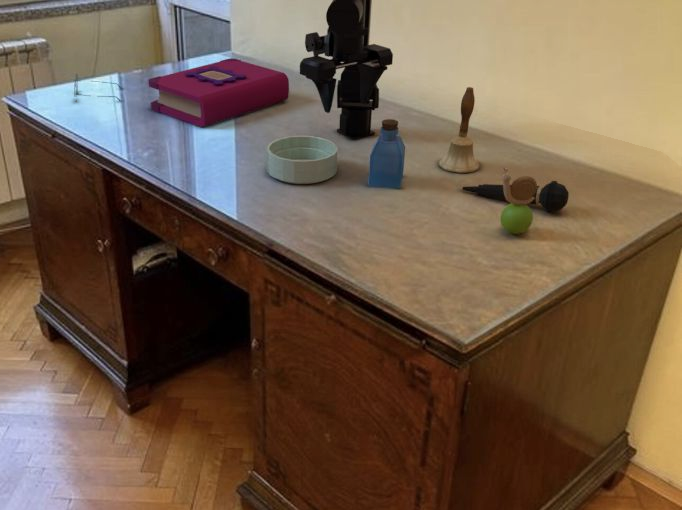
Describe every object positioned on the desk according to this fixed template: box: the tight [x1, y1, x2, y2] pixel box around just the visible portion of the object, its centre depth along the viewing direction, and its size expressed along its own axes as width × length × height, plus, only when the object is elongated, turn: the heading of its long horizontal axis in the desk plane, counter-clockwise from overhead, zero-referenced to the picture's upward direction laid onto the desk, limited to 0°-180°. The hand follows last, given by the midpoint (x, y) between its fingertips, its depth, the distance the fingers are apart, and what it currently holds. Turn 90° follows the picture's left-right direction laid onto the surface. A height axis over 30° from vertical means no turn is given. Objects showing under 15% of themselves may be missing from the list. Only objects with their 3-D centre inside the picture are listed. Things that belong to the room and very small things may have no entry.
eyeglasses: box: [73, 72, 122, 102], centre depth 196 cm, size 11×13×5 cm
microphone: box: [461, 180, 570, 214], centre depth 145 cm, size 6×6×20 cm
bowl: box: [266, 135, 339, 185], centre depth 156 cm, size 14×14×5 cm
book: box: [147, 58, 290, 128], centre depth 190 cm, size 21×28×8 cm
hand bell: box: [438, 86, 480, 174], centre depth 156 cm, size 8×8×16 cm
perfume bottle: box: [368, 118, 406, 190], centre depth 150 cm, size 6×6×12 cm
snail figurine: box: [500, 166, 538, 235], centre depth 132 cm, size 5×6×12 cm
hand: (345, 107), depth 149 cm, fingers open, 9 cm apart
